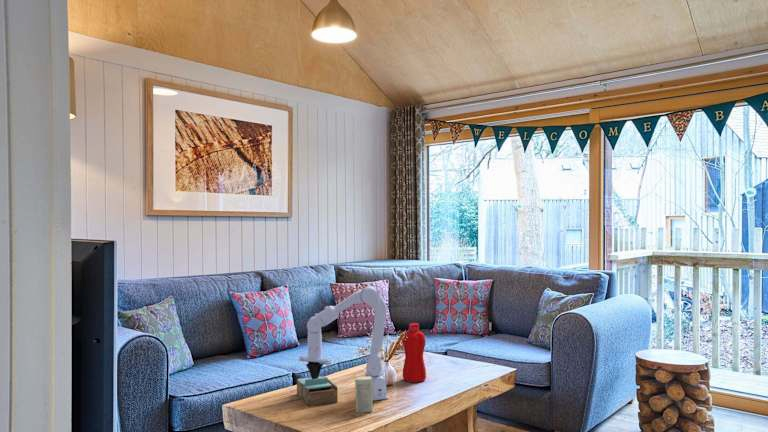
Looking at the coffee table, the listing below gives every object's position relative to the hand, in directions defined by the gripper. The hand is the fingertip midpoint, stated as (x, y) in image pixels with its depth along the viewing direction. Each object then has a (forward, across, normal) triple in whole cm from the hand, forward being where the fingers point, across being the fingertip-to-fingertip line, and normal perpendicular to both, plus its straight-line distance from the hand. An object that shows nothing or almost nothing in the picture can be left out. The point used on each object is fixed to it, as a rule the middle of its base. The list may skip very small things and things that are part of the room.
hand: (314, 380), depth 232 cm
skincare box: (+7, -26, +4) cm, 27 cm away
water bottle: (+7, -24, -40) cm, 47 cm away
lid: (+1, +1, 0) cm, 2 cm away
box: (+6, -2, +2) cm, 7 cm away
